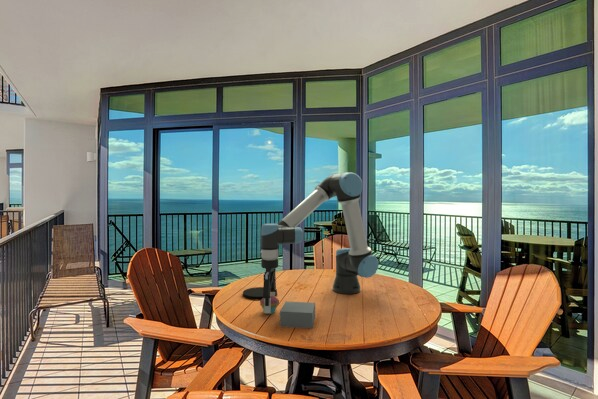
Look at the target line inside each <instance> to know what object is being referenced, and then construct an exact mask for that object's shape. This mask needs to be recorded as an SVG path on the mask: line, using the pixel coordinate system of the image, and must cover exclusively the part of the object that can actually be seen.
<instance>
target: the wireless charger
mask: <svg viewBox="0 0 598 399" xmlns="http://www.w3.org/2000/svg"><path fill="white" fill-rule="evenodd" d="M274 292H275V296H276V297H277V295H278V290H277V291H274ZM242 297H243V298H245V299H247V300H251V301H252V300H253V301H260V300H261V299H263V298H262V297H263V286H262V287H261V286H257V287H256V286H255V287H250V288H247V289H244V290H243V291H242Z"/></svg>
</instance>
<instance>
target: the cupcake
mask: <svg viewBox="0 0 598 399" xmlns="http://www.w3.org/2000/svg"><path fill="white" fill-rule="evenodd" d="M270 298H271V313H264V314H266V315H273V314H275V313H276V309H277V306H279V305H280V300H279V299H278V298H277V296H276V297H273V296H271V292H270ZM259 301H260V302H259V305H260V306H261V308H262V310H263V311H264V298H263V299H261V300H259Z"/></svg>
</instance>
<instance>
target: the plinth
mask: <svg viewBox="0 0 598 399" xmlns="http://www.w3.org/2000/svg"><path fill="white" fill-rule="evenodd" d="M315 320H316V302H306V301H286V300H285V302H284V303H283V305H282V307H281V309H280V311H279V327H282V328H299V329H304V328H305V329H313V327H314V324H315Z"/></svg>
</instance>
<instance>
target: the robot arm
mask: <svg viewBox="0 0 598 399" xmlns="http://www.w3.org/2000/svg"><path fill="white" fill-rule="evenodd" d="M363 188H364V183H363V179H362V178H361V177H360V176H359V175H358V174H357V173H355V172H340V173H332V174H330V175H328V176H327V177H325V178H324V179H322V181H321V182H320V183H318V184H317V185H316V186H315V187H314V190H313V191H312V192H311V193H310V194H308V196H307V197H306V198H305V199H304V200H302V201H301V202H300V203H299V204H298V205H297V206H295V208H293V209H292V210H291V211H290V212H289V213H287V215H285V216H284V217H283V218H282V219H281V220H280V221H278V223H263V224H262V225H261V229H260V230H261V231H260V236H261V239H260V240H261V243H260V244H261V250H260V252H259V253H260V254H261V261H260V262H261V268H262V269H265V272H264V273H263V286H262V287H263V297H262V298H264V310H263V313H264V314H265V313H271V298H270V292H271V296H273V297H275V292H274V291H277V292H278V289H277V283H276V282H277V280H276V278H277V277H276V269H277V268H278V267H279V259H278V258H279V245H291V244H292V245H294V244H301V243H302V242H303V240H304V231H303V229H302V228H301V227H300V226H299V225H300V224H301V223H302V222H304V220H306V218H308V217H309V216H310V215H311V214H312V213H313V212H314V211H315V210H317V209H318V208H319V206H321V205H322V204H323V203H324V202H328V201H330V199H332V198H335V197H336V201H337V202H338V203H339V204H340V205H341V209H342V214H343V219H344V224H345V228H346V233H347V237H348V238H347V239H348V242H349V243H348V244H349V246H350V247H347V248H339V249H337V250H336V252H335V277H334V281H333V284H332V291H334V292H335V293H339V294H342V295H343V294H344V295H345V294H346V295H347V294H349V295H350V294H351V295H352V294H357V293H358V294H359V293H360V292H361V284H360V280H359V278H358V276H359V277H361V278H368V279H369V278H371V277H373V276H375V274H376V273H377V271H378V269H379V259H378V258H377V257H376V256H375V255H373V252H372V248H371V247H369V246H368V243H367V238H366V232H365V229H364V228H365V227H364V222H363V218H362V213H361V212H362V211H361V208H360V202H359V201H360V198H362V197H361V193H362V192H363Z"/></svg>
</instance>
